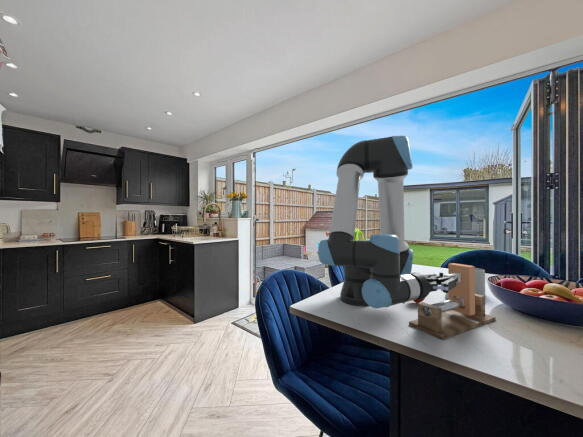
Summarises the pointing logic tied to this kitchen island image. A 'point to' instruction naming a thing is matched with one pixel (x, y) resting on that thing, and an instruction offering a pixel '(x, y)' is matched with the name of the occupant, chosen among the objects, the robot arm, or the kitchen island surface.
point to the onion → (419, 300)
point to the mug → (479, 281)
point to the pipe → (447, 305)
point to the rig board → (450, 319)
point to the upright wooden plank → (464, 287)
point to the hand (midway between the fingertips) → (458, 277)
